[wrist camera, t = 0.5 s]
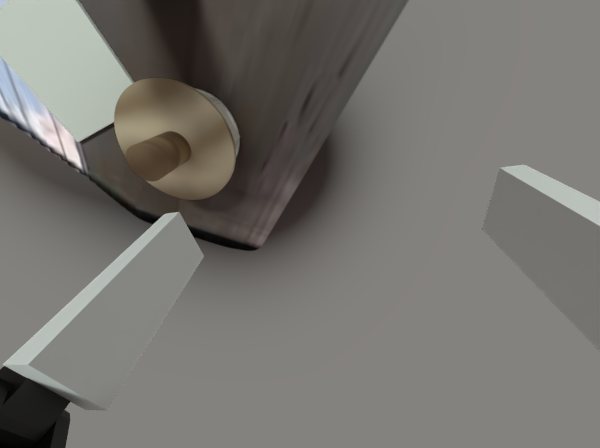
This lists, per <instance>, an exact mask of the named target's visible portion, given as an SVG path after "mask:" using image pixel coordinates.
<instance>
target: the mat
mask: <svg viewBox="0 0 600 448" xmlns="http://www.w3.org/2000/svg"><path fill="white" fill-rule="evenodd" d="M0 56H1V57H2V58H3V59H4V60H5V62H6V63H7V64H8V65H9V66H10V67H11V68H12V69H13V70H14V72H15V73H16V74H17V75H18V76H19V77H20V78H21V79H22V81H23V82H24V83H25V84H26V85H27V86H28V87H29V88H30V89H31V91H32V92H33V93H34V94H35V95H36V96H37V97H38V98H39V100H40V101H41V102H42V103H43V104H44V105H45V106H46V107H47V108H48V110H49V111H50V112H51V113H52V114H53V115H54V116H55V117H56V118H57V120H58V121H59V122H60V123H61V124H62V125H63V126H64V127H65V129H66V130H67V131H68V132H69V133H70V134H71V135H72V136H73V137H74V139H75V140H76V141H77V142H81V141H82V140H84V139H86V138H88V137H89V136H91V135H93V134H94V133H96V132H98V131H100V130H101V129H103V128H105V127H107V126H108V125H110V124H112V123H114V113H115V107H116V104H117V101H118V99H119V97H120V95H121V94H122V93H123V91H124V90H125V89H126V88H127V87H129V86H130V85H131V84H133V83H135V82H134V81H133V80H132V78H131V77H130V75H129V74H128V72H127V71H126V69H125V68H124V66H123V65H122V63H121V62H120V60H119V59H118V57H117V56H116V54H115V53H114V52H113V50H112V49H111V47H110V46H109V44H108V43H107V41H106V40H105V38H104V37H103V35H102V34H101V32H100V31H99V29H98V28H97V26H96V25H95V24H94V22H93V21H92V19H91V18H90V16H89V15H88V13H87V12H86V10H85V9H84V7H83V6H82V4H81V3H80V1H79V0H9V1H8V2H7V3H6V4H5V5H4V6H3V7H2V8H1V9H0Z"/></svg>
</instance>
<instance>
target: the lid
mask: <svg viewBox="0 0 600 448" xmlns="http://www.w3.org/2000/svg"><path fill="white" fill-rule="evenodd" d="M114 125H115V132H116V136H117V139H118V142H119V145H120V147H121V149H122V151H123V153H124V155H125V157H126V161H127V164H128V166H129V167H130V169H131V170H132V171H133V172H134V173H135V174H136V175H137V176H138V177H140V178H142V179H144V180H146V181H147V182H148V183H150V184H151V185H152V186H154V187H155V188H157V189H159V190H160V191H162V192H164V193H166V194H169V195H171V196H174V197H177V198H181V199H188V200H199V199H205V198H208V197H211V196H213V195H215V194H216V193H218V192H219V191H220V190H221V189H222V188H223V187H224V186H225V185H226V184H227V183H228V181H229V180H230V178H231V176H232V174H233V171H234V168H235V163H236V149H235V143H234V139H233V136H232V133H231V130H230V128H229V126H228V124H227V122H226V120H225V119H224V117H223V115H222V114H221V113H220V111H219V110H218V109H217V107H216V106H215V105H214V104H213V103H212V102H211V101H210V100H209V99H208V98H207V97H205V96H204V95H203V94H202V93H200V92H199V91H197V90H196V89H195V88H193V87H191V86H189V85H187V84H185V83H182V82H180V81H177V80H173V79H169V78H148V79H143V80H139V81H137V82H135V83H133V84H131V85H130V86H129V87H127V88H126V89H125V90H124V91H123V93H122V94H121V95H120V97H119V99H118V101H117V104H116V107H115V113H114Z"/></svg>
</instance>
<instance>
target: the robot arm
mask: <svg viewBox="0 0 600 448" xmlns="http://www.w3.org/2000/svg"><path fill="white" fill-rule="evenodd" d="M482 230H483V231H484V232H485V233H486V234H487V235H488V236H489V237H490V238H491V239H492V240H493V241H494V242H495V243H496V244H497V246H498V247H499V248H500V249H501V250H502V251H503V252H504V253H505V254H506V255H507V256H508V257H509V258H510V259H511V260H512V261H513V262H514V263H515V264H516V265H517V266H518V267H519V268H520V269H521V270H522V271H523V273H524V274H525V275H526V276H527V277H528V278H529V279H530V280H531V281H532V282H533V283H534V284H535V285H536V286H537V287H538V288H539V289H540V290H541V291H542V292H543V293H544V294H545V295H546V296H547V297H548V298H549V299H550V300H551V302H552V303H553V304H554V305H555V306H556V307H557V308H558V309H559V310H560V311H561V312H562V313H563V314H564V315H565V316H566V317H567V318H568V319H569V320H570V321H571V322H572V323H573V324H574V325H575V326H576V327H577V329H578V330H580V332H581V333H582V334H583V335H584V336H585V337H586V338H587V339H588V340H589V341H590V342H591V343H592V344H593V345H594V346H595V347H596V348H597V349H598V350H599V351H600V202H599V201H597V200H595V199H593V198H591V197H589V196H587V195H585V194H583V193H581V192H579V191H577V190H575V189H573V188H570V187H569V186H567V185H564V184H563V183H560V182H559V181H557V180H555V179H552V178H550V177H548V176H546V175H544V174H542V173H540V172H538V171H536V170H534V169H532V168H530V167H528V166H526V165H518V166H511V167H504V168H500V170H499V173H498V176H497V180H496V183H495V186H494V190H493V193H492V197H491V200H490V203H489V207H488V210H487V214H486V217H485V220H484V224H483V228H482ZM203 257H204V255H203V253H202V252H201V250H200V248H199V246H198V245H197V243H196V241H195V239H194V237H193V236H192V234H191V232H190V230H189V229H188V227H187V225H186V223H185V221H184V220H183V218H182V216H181V214H180V213H179V212H175V213H168V214H164V215H163V216H162V217H161V218H160V219H159V220H158V221H157V222H155V223H154V224H153V225H152V226H151V227H150V228H149V229H148V230H147V231H146V232H145V233H144V234H143V235H142V236H140V237H139V238H138V239H137V240H136V241H135V242H134V243H133V244H132V245H131V246H130V247H129V248H128V249H126V250H125V251H124V252H123V253H122V254H121V255H120V256H119V257H118V258H117V259H116V260H115V261H114V262H112V264H110V265H109V266H108V267H107V268H106V269H105V270H104V271H103V272H102V273H101V274H100V275H99V276H97V277H96V278H95V279H94V280H93V281H92V282H91V283H90V284H89V285H88V286H87V287H86V288H85V289H83V290H82V291H81V292H80V293H79V294H78V295H77V296H76V297H75V298H74V299H73V300H72V301H71V302H70V303H68V305H66V306H65V307H64V308H63V309H62V310H61V311H60V312H59V313H58V314H57V315H55V316H54V317H53V318H52V319H51V320H50V321H49V322H48V323H47V324H46V325H45V326H44V327H43V328H42V329H40V330H39V331H38V332H37V333H36V334H35V335H34V336H33V337H32V338H31V339H30V340H29V341H28V342H26V343H25V344H24V345H23V346H22V347H21V348H20V349H19V350H18V351H17V352H16V353H15V354H14V355H12V357H10V358H9V359H8V360H7V361H6V362H5V363H4V364H3V365H4V367H3V368H2V369H1V370H0V448H65V446H66V440H67V435H68V429H69V424H70V414H69V413H68V412H67V411H66V410H64V409H65V408H66V407H67V405H68V404H69V403H70V402H72V403H74V404H76V405H78V406H80V407H82V408H83V409H85V410H107V409H108V408H109V406H110V404H111V403H112V401H113V399H114V398H115V396H116V395H117V393H118V392H119V390H120V389H121V387H122V385H123V384H124V382H125V381H126V379H127V377H128V376H129V374H130V373H131V371H132V369H133V368H134V366H135V365H136V363H137V362H138V360H139V358H140V357H141V355H142V354H143V352H144V350H145V349H146V347H147V346H148V344H149V342H150V341H151V339H152V338H153V336H154V335H155V333H156V331H157V330H158V328H159V327H160V325H161V323H162V322H163V320H164V319H165V317H166V315H167V314H168V312H169V311H170V309H171V308H172V306H173V304H174V303H175V301H176V300H177V298H178V297H179V295H180V293H181V292H182V290H183V289H184V287H185V285H186V284H187V282H188V281H189V279H190V277H191V276H192V274H193V273H194V271H195V270H196V268H197V266H198V265H199V263H200V262H201V260H202V258H203Z"/></svg>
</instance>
